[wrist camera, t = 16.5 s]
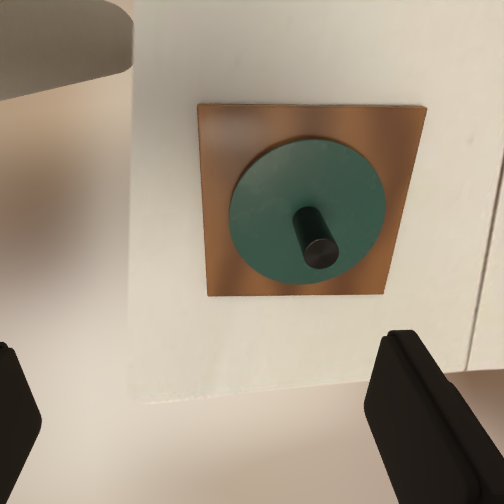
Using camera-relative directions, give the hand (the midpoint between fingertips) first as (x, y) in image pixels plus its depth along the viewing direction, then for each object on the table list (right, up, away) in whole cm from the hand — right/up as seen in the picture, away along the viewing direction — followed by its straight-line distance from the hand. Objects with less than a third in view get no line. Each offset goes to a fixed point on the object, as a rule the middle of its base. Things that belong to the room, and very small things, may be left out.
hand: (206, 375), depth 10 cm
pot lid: (+6, +6, +22) cm, 24 cm away
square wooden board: (+6, +7, +24) cm, 26 cm away
